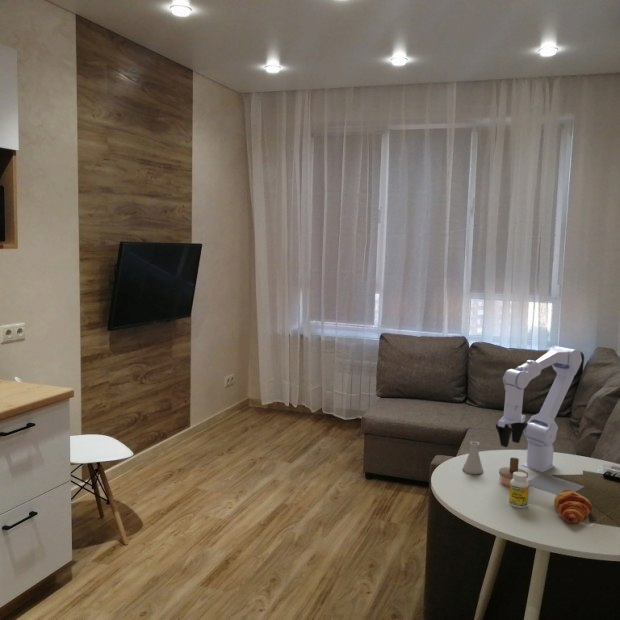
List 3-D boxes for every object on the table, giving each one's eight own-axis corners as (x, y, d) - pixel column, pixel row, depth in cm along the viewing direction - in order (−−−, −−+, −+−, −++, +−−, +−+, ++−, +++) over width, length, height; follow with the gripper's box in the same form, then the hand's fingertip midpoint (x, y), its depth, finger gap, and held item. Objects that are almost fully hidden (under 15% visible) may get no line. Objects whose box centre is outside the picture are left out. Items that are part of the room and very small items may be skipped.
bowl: (507, 477, 205) (507, 468, 205) (527, 483, 200) (528, 475, 200) (495, 482, 200) (496, 473, 200) (516, 489, 195) (516, 480, 195)
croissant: (561, 508, 190) (550, 484, 191) (593, 499, 187) (582, 474, 187) (560, 536, 171) (548, 509, 172) (596, 526, 167) (583, 498, 168)
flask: (481, 468, 213) (483, 440, 212) (485, 475, 206) (487, 447, 205) (460, 466, 214) (462, 439, 213) (463, 474, 206) (465, 445, 205)
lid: (506, 467, 206) (507, 452, 205) (532, 474, 200) (533, 459, 199) (494, 474, 199) (495, 458, 199) (520, 482, 193) (522, 466, 193)
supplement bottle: (527, 502, 185) (529, 472, 184) (527, 509, 180) (530, 478, 179) (508, 499, 187) (510, 469, 186) (508, 506, 182) (510, 475, 181)
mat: (543, 474, 209) (543, 473, 209) (584, 487, 198) (584, 486, 198) (523, 484, 199) (523, 483, 199) (565, 498, 189) (565, 497, 189)
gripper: (513, 410, 198) (509, 451, 199) (535, 404, 208) (531, 443, 209) (493, 405, 203) (490, 445, 204) (516, 400, 213) (512, 438, 214)
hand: (509, 444), depth 207 cm, fingers open, 7 cm apart
